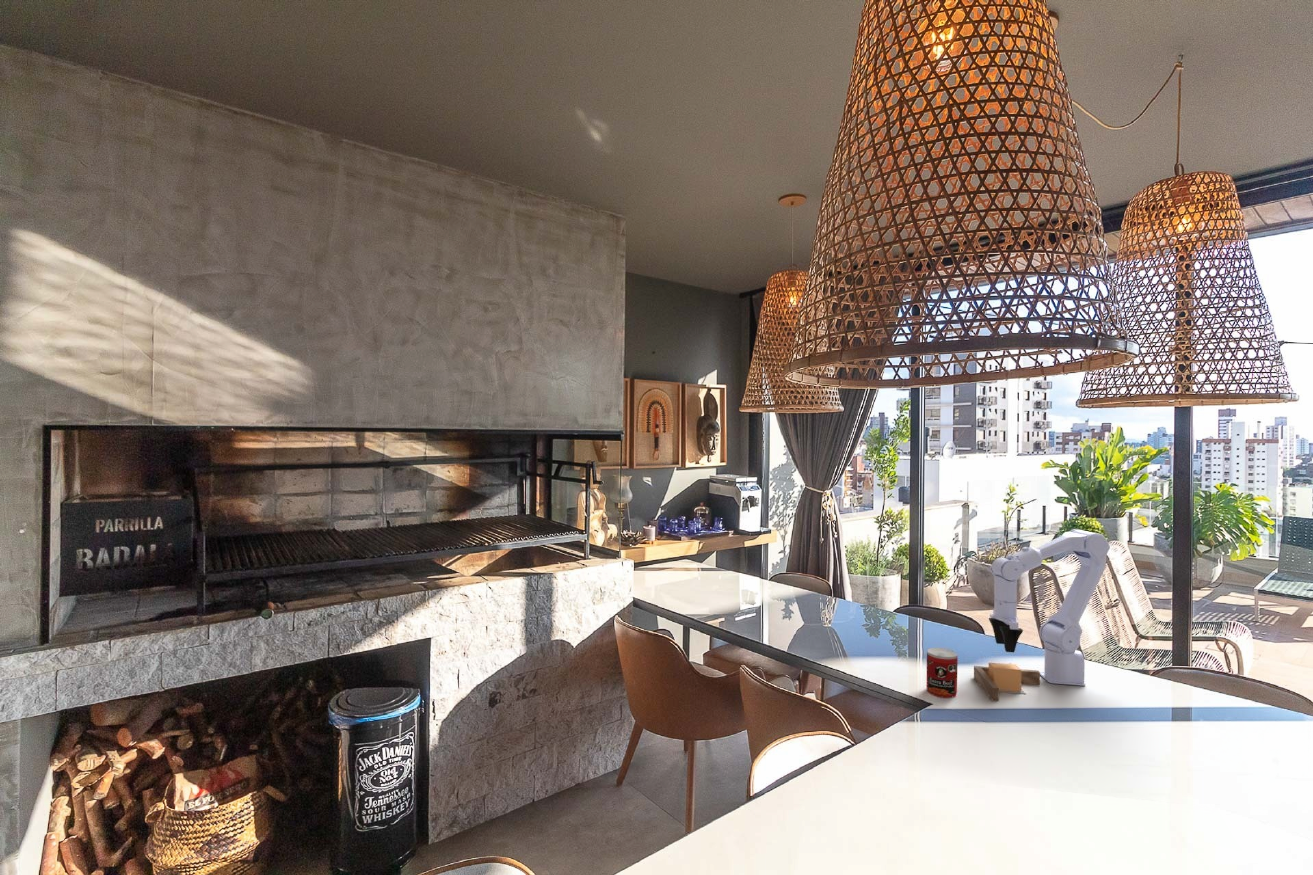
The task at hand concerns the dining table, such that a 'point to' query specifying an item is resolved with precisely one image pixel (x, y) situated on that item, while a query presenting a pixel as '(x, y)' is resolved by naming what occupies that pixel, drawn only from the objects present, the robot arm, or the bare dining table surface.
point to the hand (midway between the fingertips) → (1005, 647)
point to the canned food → (942, 672)
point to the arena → (992, 688)
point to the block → (1005, 676)
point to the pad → (1013, 691)
